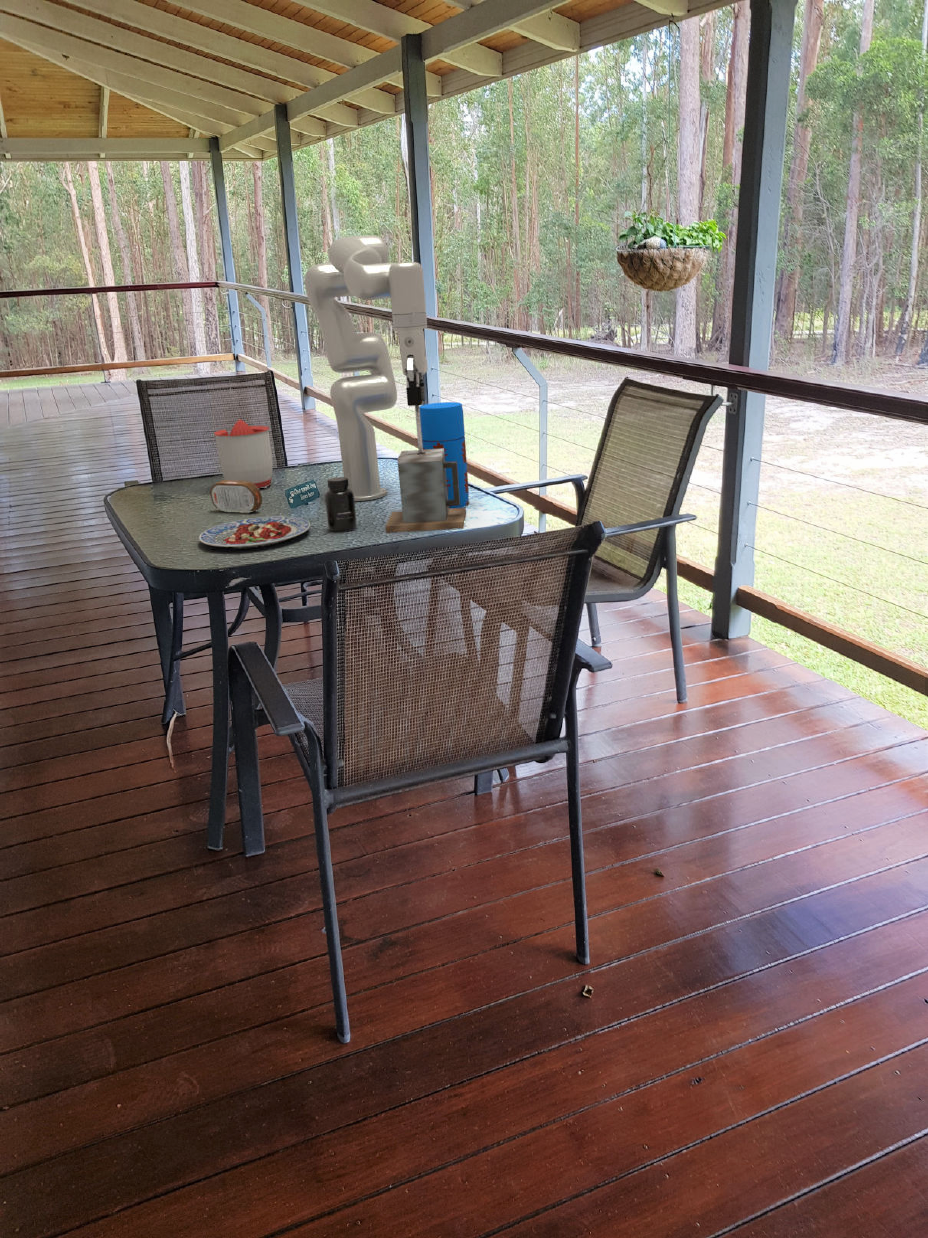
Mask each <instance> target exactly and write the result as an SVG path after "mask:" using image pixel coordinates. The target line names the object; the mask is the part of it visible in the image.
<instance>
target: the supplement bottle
mask: <svg viewBox="0 0 928 1238" xmlns="http://www.w3.org/2000/svg"><path fill="white" fill-rule="evenodd" d="M348 486H349V484H348V478H345V477H344V476H343V477H341V476H339V477H332V478H331V477H330V478H329V479H327V488H328V489H329V490H327V491H326V492H325V493H324V499H325V500H324V501H325V502H324V503H325V511H326V518H327V519H326V520H327V528H328V530H329V531H330V532H333V533H344V532H350V531H353V530H356V528H357V526H358V525H357V524H358V523H357V514H356V501H354V493H353V491H352V490H351V489H349V488H348Z"/></svg>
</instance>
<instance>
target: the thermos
mask: <svg viewBox="0 0 928 1238" xmlns="http://www.w3.org/2000/svg"><path fill="white" fill-rule="evenodd" d="M419 409H420V421H421V433H422V445H423V450H427V449H443V448H444V455H445V462H451V461H452V462H456V461H457V469H458V482H459V496H460V505H459V506H449V509H450V508H462V507H463V508H465V507H464V506H466V505H467V506H468V505H470V503H469V502H470V500H469V496H470V495H469V494H470V493H469V492H470V491H469V490H470V489H469V478H468V477H469V476H468V463H467V462H468V461H467V447H466V445H467V444H466V436H465V435H466V434H465V433H466V432H465V421H464V419H465V418H464V417H465V416H464V410H463V409H464V408H463V404H462V403H461V402H457V401H455V402H454V401H449V402H448V401H446V402H445V401H443V402H432V403H426V404H422V405H419ZM446 481H447V494H448V500H453V499H454V492H453V479H452V468H446ZM467 506H466V507H467Z"/></svg>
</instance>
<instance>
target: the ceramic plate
mask: <svg viewBox="0 0 928 1238" xmlns="http://www.w3.org/2000/svg"><path fill="white" fill-rule="evenodd" d="M310 528H311V523H310V521H308V520H306V519H304V518H301V517H295V516H279V515H278V516H277V515H276V516H263V517H251V518H245V519H239V520H234V521H230V522H226V523H221V524H219V525H215V526H212V527H210V528H208V529H205V530H204V531H203V532H201V533H200V534H199V536H198V539H199V542H201V543H202V544H205V545H208V546H213V547H220V548H221V547H225V548H228V547H255V548H257V547H256V546H262V547H265V546H264V545H268V546H270V545H269V544H272V545H276V544H278V543H279V542H280V543H282V541H283V542H285V541H287V540H289V539H292V538H295V537H297V536H300V535H302V534H304V533H305V532H307V531H308V530H309V529H310ZM230 531H236V533H233V535H232V536H230V537H227V538H226V539H225V540H223V541H226V544H225V543H218V542H216V541H217V540H215V538H217V537H218V536H219V535H220V534H226V533H227V532H230ZM275 543H276V544H275ZM280 543H279V544H280Z"/></svg>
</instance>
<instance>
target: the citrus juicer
mask: <svg viewBox="0 0 928 1238" xmlns="http://www.w3.org/2000/svg"><path fill="white" fill-rule="evenodd" d="M269 429H270V427H269V426H266V425H264V426H263V425H250V426H249V425H248V423H246V422H245V421H243V420H242V419H238V420H237V422H236V423H235V424H234V425H233V427H232V428H231V431H230V433H229V432H228V431H227V430H226V429H220V430H217V431H215V432H213V434H214V436H215V441H216V448H217V455H218V461H219V465H220V471H221V473H222V477H223V480H234V481H249V482H251V483H253V484H254V485H256V486H257V488H261V487H265V486H267V485H271V482H272V478H273V477H272V476H273V468H274V467H273V466H274V465H273V454H272V446H271V440H270V433H269V432H270V431H269Z"/></svg>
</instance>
